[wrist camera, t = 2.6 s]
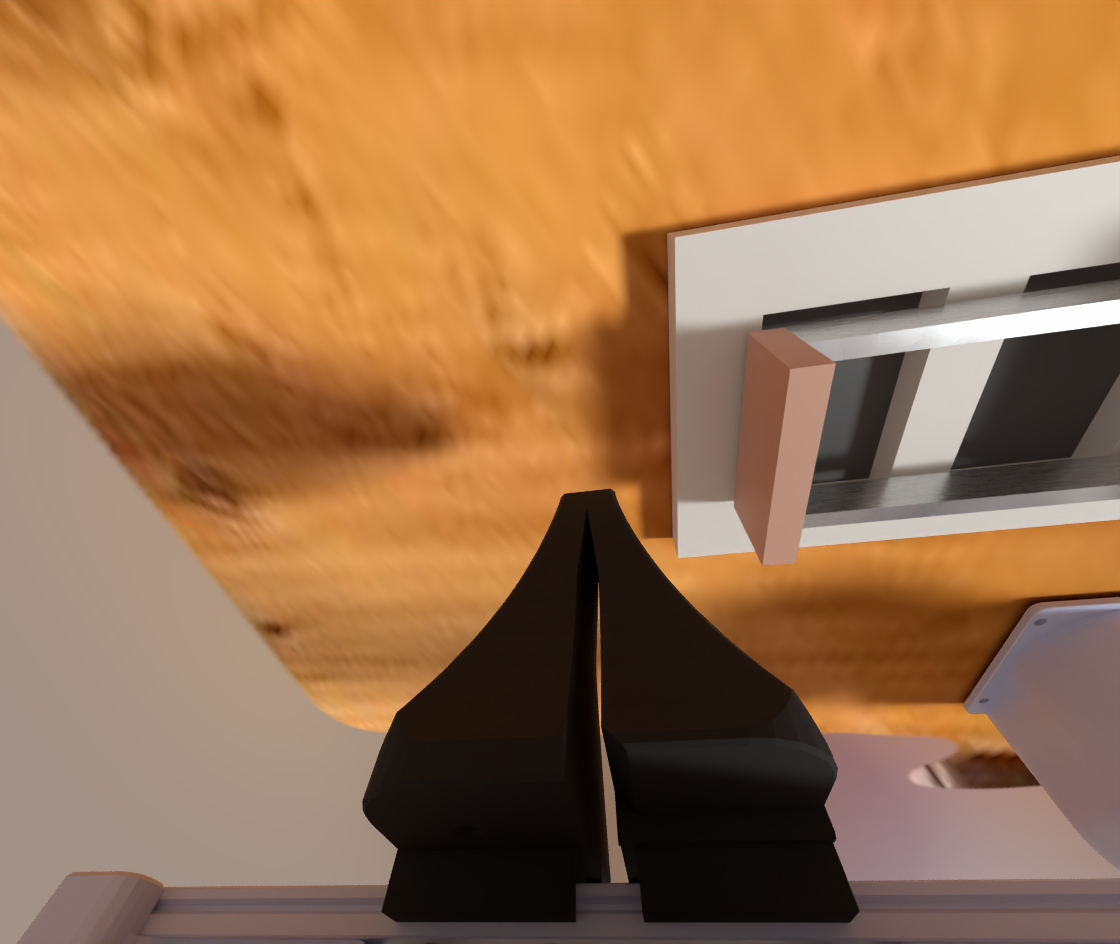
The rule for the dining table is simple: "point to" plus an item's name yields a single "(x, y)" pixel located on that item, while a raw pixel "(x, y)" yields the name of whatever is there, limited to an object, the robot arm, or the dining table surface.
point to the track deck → (907, 377)
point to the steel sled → (793, 504)
